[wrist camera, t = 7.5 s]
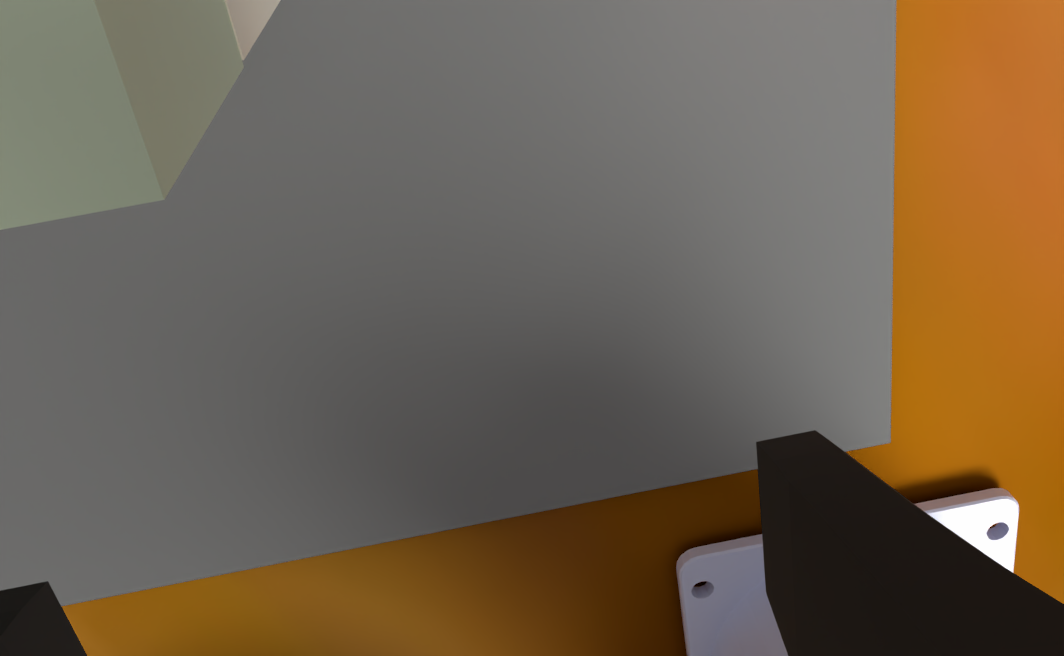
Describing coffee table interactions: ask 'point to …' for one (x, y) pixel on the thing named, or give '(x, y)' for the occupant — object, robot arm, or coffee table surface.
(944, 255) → the coffee table surface
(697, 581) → the robot arm
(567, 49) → the mat
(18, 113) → the sage brick
